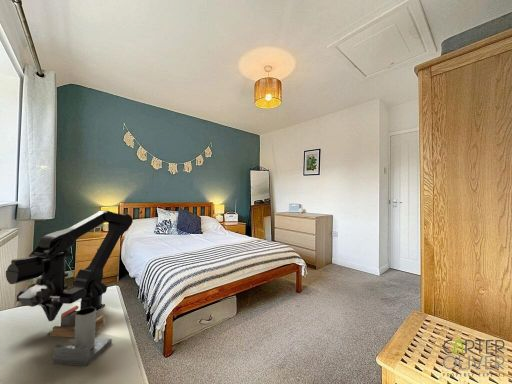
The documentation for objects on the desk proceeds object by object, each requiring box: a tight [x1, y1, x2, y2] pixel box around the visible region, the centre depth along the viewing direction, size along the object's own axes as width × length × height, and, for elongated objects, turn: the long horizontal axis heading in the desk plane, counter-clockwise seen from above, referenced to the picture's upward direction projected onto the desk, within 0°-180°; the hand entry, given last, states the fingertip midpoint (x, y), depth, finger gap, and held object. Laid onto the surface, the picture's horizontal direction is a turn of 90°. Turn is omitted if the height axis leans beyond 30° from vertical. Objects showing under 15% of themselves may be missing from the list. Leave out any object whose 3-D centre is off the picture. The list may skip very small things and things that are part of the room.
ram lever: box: [60, 305, 80, 327], centre depth 71 cm, size 5×3×5 cm, turn 177°
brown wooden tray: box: [49, 314, 105, 338], centre depth 71 cm, size 7×12×3 cm, turn 87°
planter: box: [73, 307, 97, 349], centre depth 61 cm, size 4×4×10 cm
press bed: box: [53, 337, 113, 367], centre depth 61 cm, size 9×9×4 cm
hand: (51, 320), depth 71 cm, fingers closed
